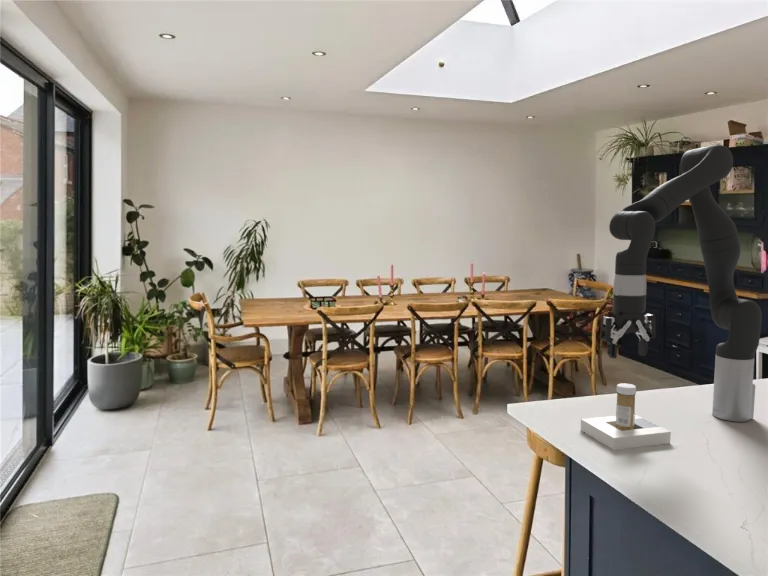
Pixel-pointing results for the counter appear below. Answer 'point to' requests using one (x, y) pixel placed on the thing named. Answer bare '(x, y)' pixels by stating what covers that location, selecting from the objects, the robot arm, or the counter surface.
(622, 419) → the sprinkles bottle
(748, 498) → the counter surface
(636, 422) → the housing
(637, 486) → the counter surface
